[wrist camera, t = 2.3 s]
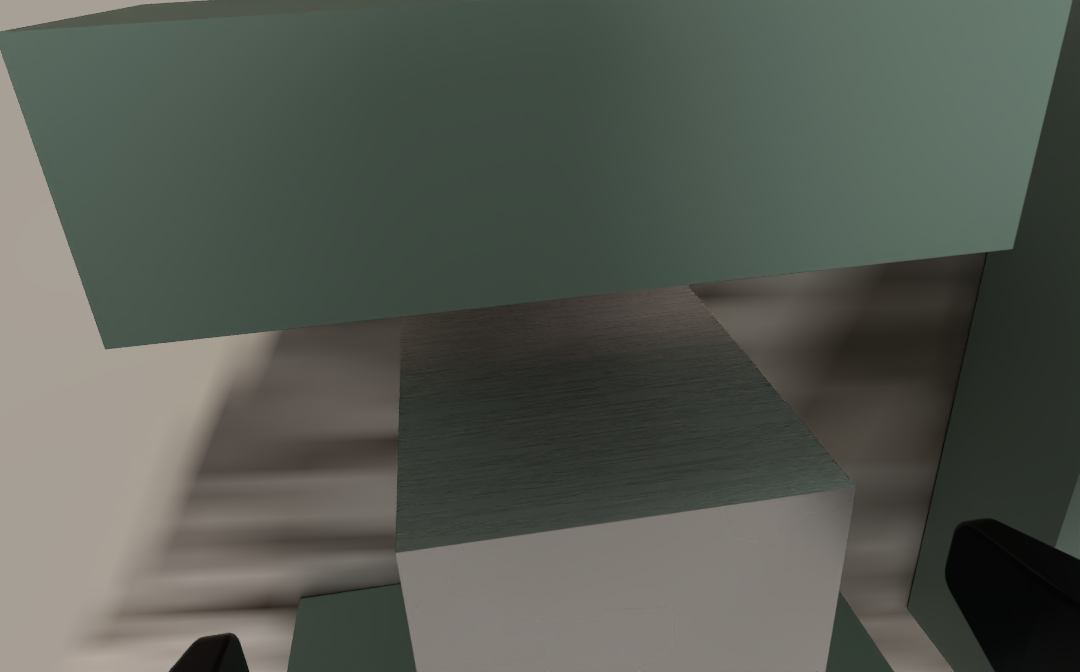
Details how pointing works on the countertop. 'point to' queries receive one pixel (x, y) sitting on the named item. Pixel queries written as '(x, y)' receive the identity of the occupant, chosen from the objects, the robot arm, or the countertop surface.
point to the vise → (585, 196)
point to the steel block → (609, 494)
